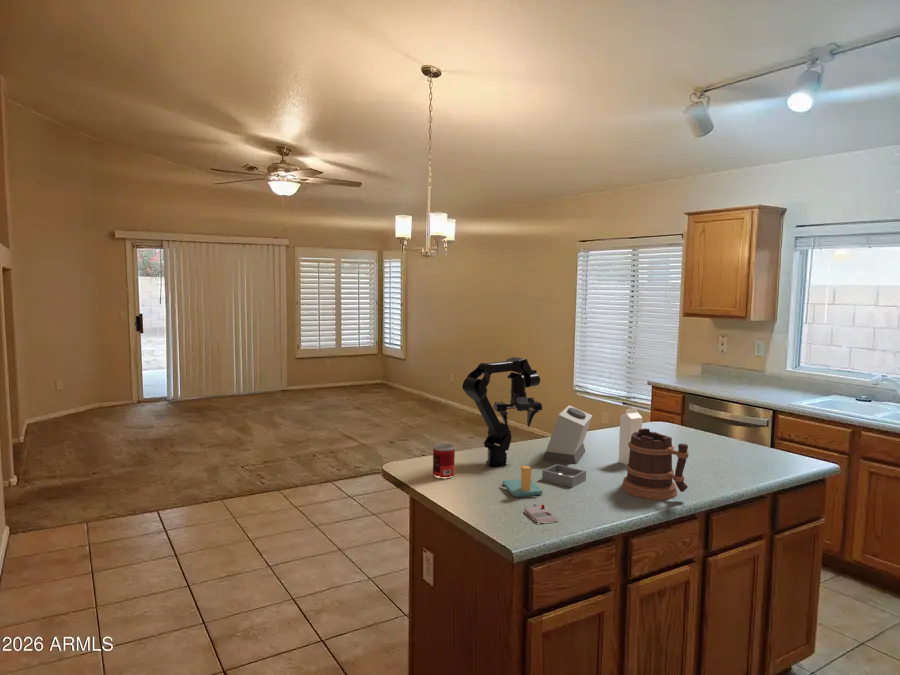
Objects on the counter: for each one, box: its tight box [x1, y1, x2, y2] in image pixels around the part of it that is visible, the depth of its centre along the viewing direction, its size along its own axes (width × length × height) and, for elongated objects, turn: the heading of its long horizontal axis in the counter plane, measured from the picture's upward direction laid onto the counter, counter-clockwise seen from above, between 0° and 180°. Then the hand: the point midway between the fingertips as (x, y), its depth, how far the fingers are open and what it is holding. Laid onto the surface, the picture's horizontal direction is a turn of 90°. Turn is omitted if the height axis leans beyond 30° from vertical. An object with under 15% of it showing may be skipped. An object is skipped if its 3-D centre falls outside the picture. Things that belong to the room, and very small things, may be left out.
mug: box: [621, 428, 690, 501], centre depth 196 cm, size 18×23×20 cm
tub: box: [541, 463, 587, 488], centre depth 205 cm, size 12×10×4 cm
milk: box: [617, 407, 643, 466], centre depth 227 cm, size 6×6×22 cm
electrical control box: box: [523, 503, 559, 524], centre depth 174 cm, size 7×16×3 cm, turn 17°
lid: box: [502, 465, 543, 498], centre depth 194 cm, size 12×10×10 cm
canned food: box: [432, 443, 456, 477], centre depth 209 cm, size 8×8×11 cm
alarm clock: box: [543, 404, 593, 465], centre depth 236 cm, size 20×16×20 cm
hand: (517, 427), depth 231 cm, fingers open, 9 cm apart
